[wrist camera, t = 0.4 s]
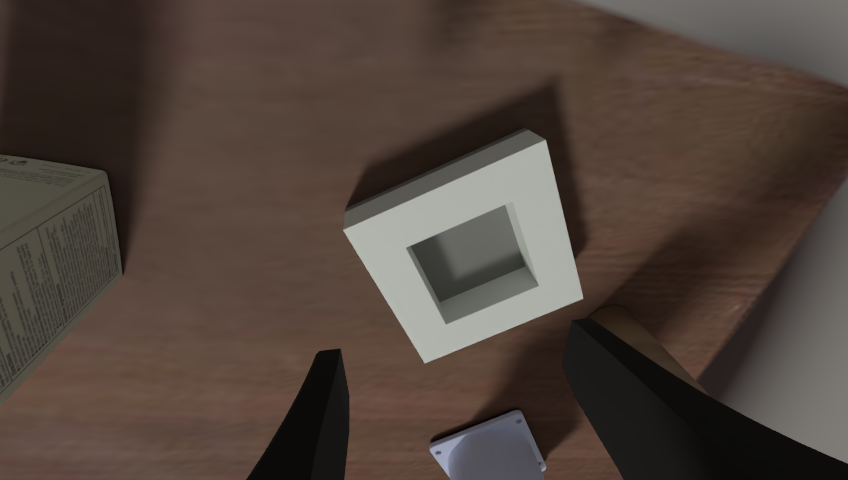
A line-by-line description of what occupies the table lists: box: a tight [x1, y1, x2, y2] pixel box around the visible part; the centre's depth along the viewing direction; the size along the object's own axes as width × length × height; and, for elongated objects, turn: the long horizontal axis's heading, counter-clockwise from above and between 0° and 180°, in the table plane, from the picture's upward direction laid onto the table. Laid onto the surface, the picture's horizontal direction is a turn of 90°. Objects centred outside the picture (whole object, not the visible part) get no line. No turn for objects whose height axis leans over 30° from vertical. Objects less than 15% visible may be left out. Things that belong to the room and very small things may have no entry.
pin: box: [587, 305, 709, 396], centre depth 23 cm, size 4×4×7 cm
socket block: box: [343, 128, 583, 363], centre depth 20 cm, size 10×10×2 cm
